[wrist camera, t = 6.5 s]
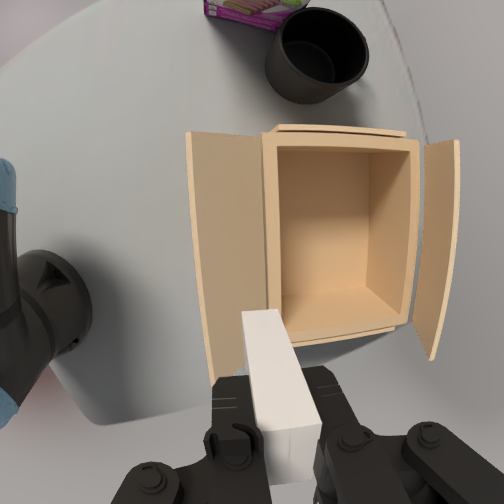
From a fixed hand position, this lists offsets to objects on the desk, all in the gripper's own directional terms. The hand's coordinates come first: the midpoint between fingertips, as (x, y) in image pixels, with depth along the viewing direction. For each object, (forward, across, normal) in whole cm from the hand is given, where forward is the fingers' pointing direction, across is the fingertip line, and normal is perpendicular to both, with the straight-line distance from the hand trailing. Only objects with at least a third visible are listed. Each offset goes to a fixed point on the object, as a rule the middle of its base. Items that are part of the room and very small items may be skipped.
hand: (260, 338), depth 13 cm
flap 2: (+11, +17, 0) cm, 20 cm away
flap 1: (+11, 0, 0) cm, 11 cm away
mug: (+25, +10, +20) cm, 34 cm away
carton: (+25, +10, 0) cm, 27 cm away
